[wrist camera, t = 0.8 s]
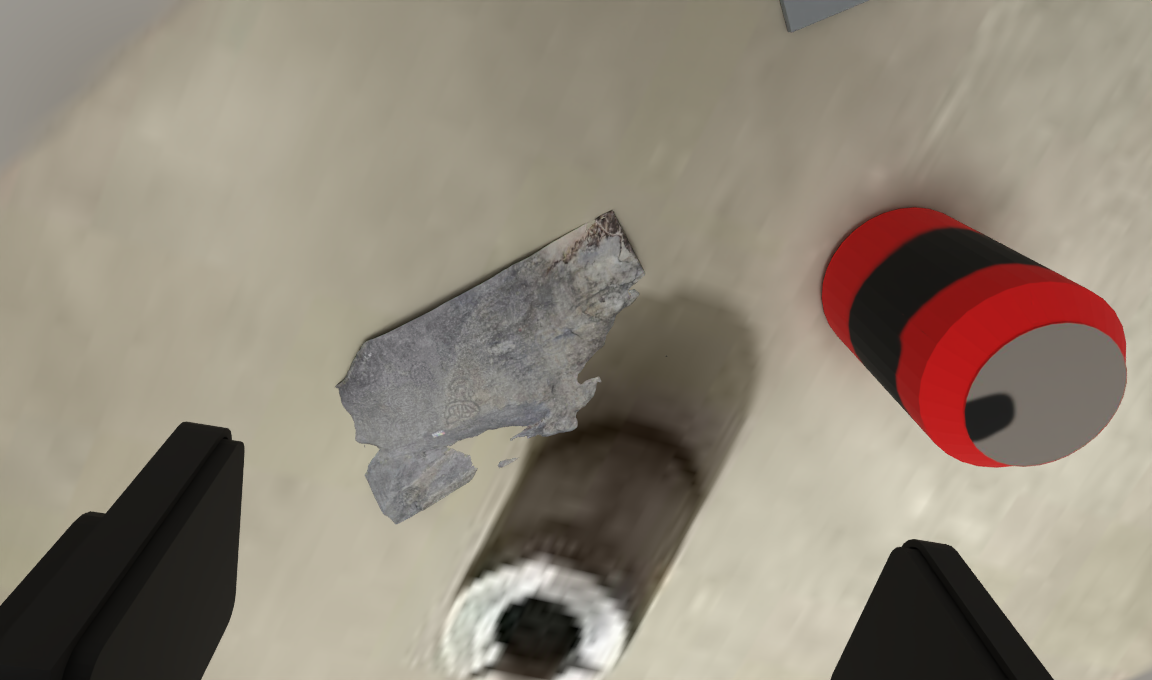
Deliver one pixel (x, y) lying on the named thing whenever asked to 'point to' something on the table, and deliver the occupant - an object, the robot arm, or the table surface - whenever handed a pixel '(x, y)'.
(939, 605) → the robot arm
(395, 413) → the stone slab
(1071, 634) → the table surface
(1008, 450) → the soda can
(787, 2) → the mat
